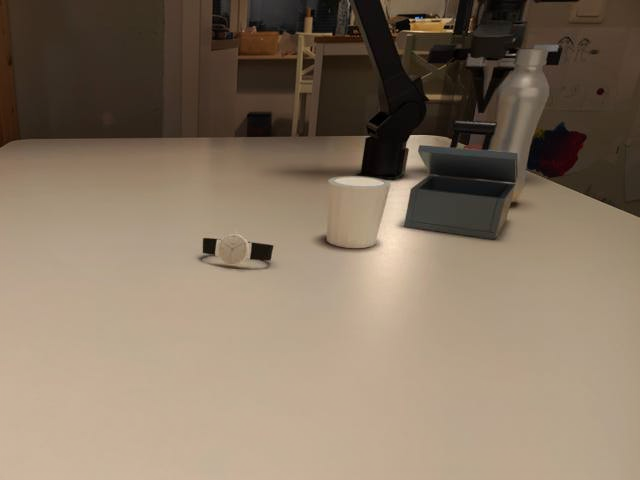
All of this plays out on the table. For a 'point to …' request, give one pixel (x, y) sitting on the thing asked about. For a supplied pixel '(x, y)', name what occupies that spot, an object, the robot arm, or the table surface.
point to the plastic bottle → (520, 109)
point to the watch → (236, 249)
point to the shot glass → (355, 210)
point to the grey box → (459, 206)
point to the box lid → (471, 156)
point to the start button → (473, 147)
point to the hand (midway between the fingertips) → (481, 112)
